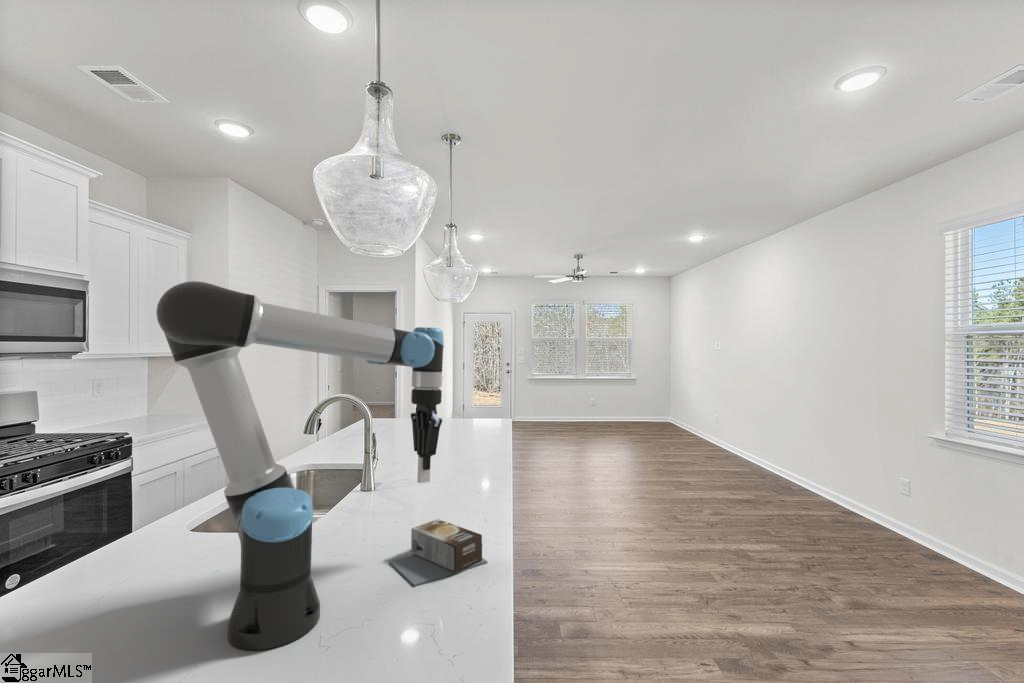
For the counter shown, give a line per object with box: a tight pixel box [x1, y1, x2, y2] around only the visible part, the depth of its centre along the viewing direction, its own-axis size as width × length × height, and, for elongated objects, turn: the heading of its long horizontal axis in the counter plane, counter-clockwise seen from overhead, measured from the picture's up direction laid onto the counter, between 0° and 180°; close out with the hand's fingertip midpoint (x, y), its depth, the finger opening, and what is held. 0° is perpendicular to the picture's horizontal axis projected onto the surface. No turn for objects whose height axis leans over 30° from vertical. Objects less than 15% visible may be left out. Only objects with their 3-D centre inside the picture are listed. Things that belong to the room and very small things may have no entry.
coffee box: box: [410, 518, 483, 574], centre depth 112 cm, size 9×6×16 cm
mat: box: [389, 553, 488, 587], centre depth 110 cm, size 19×14×1 cm
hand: (423, 481), depth 116 cm, fingers closed
